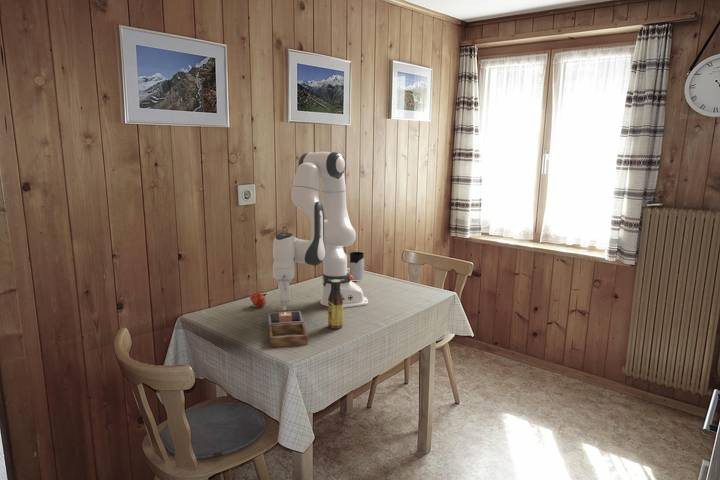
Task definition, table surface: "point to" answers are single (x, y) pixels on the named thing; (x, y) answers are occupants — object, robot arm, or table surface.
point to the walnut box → (288, 339)
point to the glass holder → (356, 265)
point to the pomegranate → (258, 300)
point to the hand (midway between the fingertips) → (283, 306)
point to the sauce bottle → (335, 306)
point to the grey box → (275, 317)
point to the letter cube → (285, 317)
